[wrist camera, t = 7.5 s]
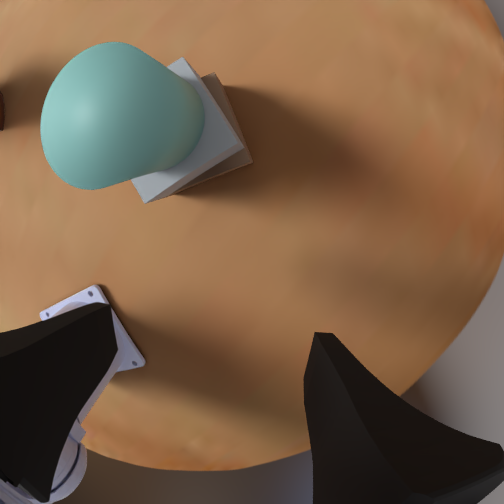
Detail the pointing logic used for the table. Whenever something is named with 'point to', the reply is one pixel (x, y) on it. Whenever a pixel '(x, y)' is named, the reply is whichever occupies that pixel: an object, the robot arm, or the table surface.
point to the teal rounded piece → (118, 117)
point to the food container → (1, 112)
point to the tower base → (243, 155)
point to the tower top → (205, 153)
